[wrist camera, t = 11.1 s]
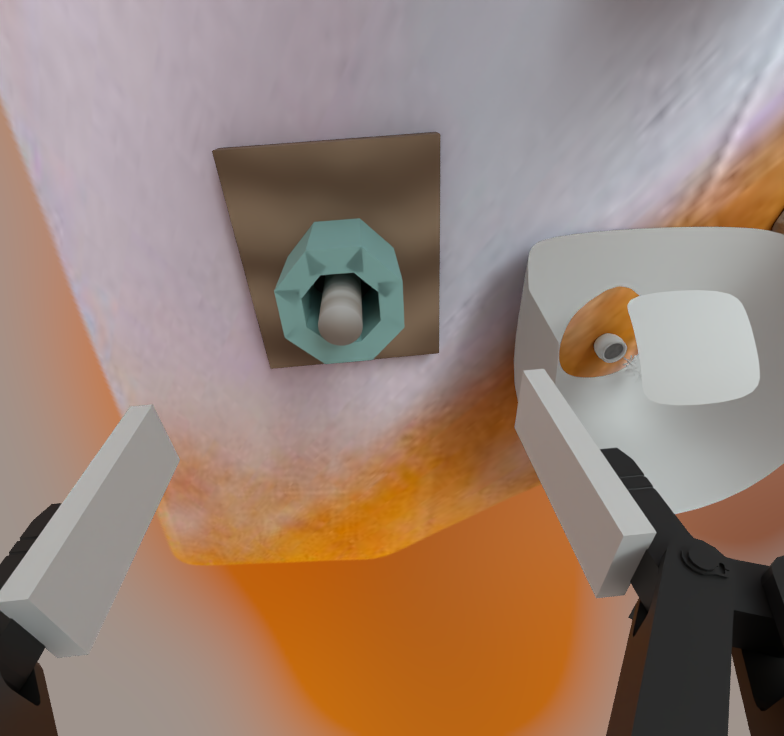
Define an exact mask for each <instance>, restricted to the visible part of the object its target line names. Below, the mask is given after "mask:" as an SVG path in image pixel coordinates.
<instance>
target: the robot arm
mask: <svg viewBox="0 0 784 736" xmlns="http://www.w3.org/2000/svg"><path fill="white" fill-rule="evenodd" d="M515 430H516V432H517V434H518V436H519V438H520V440H521V442H522V444H523V446H524V448H525V451H526V453H527V455H528V457H529V459H530V461H531V463H532V465H533V467H534V469H535V471H536V473H537V476H538V478H539V480H540V482H541V484H542V486H543V488H544V490H545V492H546V494H547V496H548V499H549V501H550V503H551V505H552V507H553V509H554V511H555V513H556V515H557V517H558V519H559V521H560V524H561V526H562V528H563V530H564V532H565V534H566V536H567V538H568V540H569V542H570V544H571V546H572V549H573V550H574V553H575V555H576V557H577V558H578V561H579V563H580V565H581V567H582V569H583V572H584V574H585V576H586V578H587V580H588V582H589V584H590V586H591V588H592V590H593V592H594V594H595V596H596V598H603V597H610V596H611V597H612V596H620V595H625V593H626V591H627V589H628V587H629V586H630V584H632V586H633V588H634V589H635V591H636V593H637V594H638V596H639V599H638V601H637V603H636V605H635V606H634V608H633V610H632V612H631V614H630V615H629V618H631V619H632V625H631V629H630V634H629V638H628V642H627V646H626V651H625V655H624V660H623V664H622V668H621V673H620V677H619V681H618V686H617V690H616V695H615V699H614V703H613V708H612V712H611V717H610V721H609V725H608V730H607V734H606V736H728V718H729V696H730V675H731V654H732V657H733V662H734V666H735V670H736V674H737V679H738V683H739V687H740V691H741V695H742V700H743V704H744V708H745V713H746V717H747V721H748V726H749V730H750V734H751V736H784V556H781V557H777V558H776V559H775V560H774V562H773V563H772V564H771V565H770V566H766V565H761V564H755V563H750V562H745V561H739V560H734V559H731V558H727V557H725V556H724V555H723V554H721V553H720V552H719V551H718V550H717V549H716V548H715V547H713V546H711V545H709V544H707V543H706V542H704V541H702V540H698V539H695V538H693V537H692V536H691V535H690V533H689V532H688V531H687V530H686V529H685V527H684V526H683V525H682V523H681V522H680V521H679V519H678V518H677V517H676V516H675V514H674V513H673V511H672V510H671V509H670V507H669V506H668V505H667V503H666V502H665V501H664V500H663V498H662V497H661V496H660V494H659V493H658V492H657V490H656V489H654V488H653V485H652V484H651V482H650V481H649V480H648V478H647V477H645V476H644V473H643V472H642V471H641V469H640V468H639V467H638V465H637V464H636V463H635V461H634V460H633V459H632V458H630V457H629V456H628V455H626V454H625V453H624V452H622V451H621V450H620V449H618V448H606V449H599V448H598V446H597V445H596V443H595V442H594V441H593V439H592V438H591V436H590V435H589V433H588V432H587V430H586V429H585V428H584V426H583V425H582V423H581V422H580V420H579V419H578V417H577V416H576V414H575V413H574V412H573V410H572V409H571V407H570V406H569V404H568V403H567V401H566V400H565V398H564V397H563V396H562V394H561V393H560V391H559V390H558V388H557V387H556V385H555V384H554V382H553V381H552V380H551V378H550V377H549V375H548V374H547V372H546V371H545V369H535V370H524V371H523V374H522V381H521V388H520V394H519V401H518V408H517V414H516V421H515ZM179 461H180V459H179V457H178V455H177V453H176V451H175V449H174V447H173V445H172V443H171V441H170V439H169V437H168V435H167V432H166V430H165V428H164V426H163V424H162V422H161V420H160V418H159V416H158V414H157V412H156V410H155V408H154V406H153V405H142V406H131V407H130V408H129V409H128V411H127V412H126V413H125V415H124V416H123V418H122V419H121V420H120V422H119V423H118V425H117V426H116V428H115V429H114V431H113V432H112V433H111V435H110V436H109V437H108V439H107V440H106V442H105V443H104V445H103V446H102V447H101V449H100V450H99V452H98V453H97V455H96V456H95V457H94V459H93V460H92V461H91V463H90V464H89V466H88V467H87V469H86V470H85V472H84V473H83V474H82V476H81V477H80V479H79V480H78V481H77V483H76V484H75V486H74V487H73V488H72V490H71V491H70V493H69V494H68V495H67V497H66V499H65V500H64V501H63V503H59V504H51V505H50V506H49V507H48V508H47V509H46V510H45V511H43V512H42V513H41V514H40V515H39V516H37V517H36V518H35V519H34V520H33V521H32V522H31V524H30V525H29V526H28V528H27V529H26V531H25V532H24V533H23V534H22V536H21V537H20V541H17V542H16V544H15V545H14V547H13V548H12V549H11V551H10V552H9V556H6V557H5V559H4V560H3V561H2V563H1V564H0V736H58V734H57V729H56V725H55V720H54V716H53V712H52V707H51V703H50V699H49V694H48V690H47V685H46V681H45V676H44V673H43V669H42V667H41V666H40V664H39V663H38V662H37V661H38V660H39V658H40V656H41V654H42V652H43V651H44V648H46V649H47V650H48V651H50V652H51V653H52V654H53V655H54V656H56V657H57V658H62V657H71V656H80V655H88V654H89V652H90V650H91V648H92V645H93V644H94V641H95V640H96V637H97V635H98V633H99V631H100V629H101V627H102V624H103V622H104V620H105V618H106V616H107V614H108V612H109V610H110V607H111V605H112V603H113V601H114V599H115V597H116V595H117V593H118V591H119V588H120V586H121V584H122V582H123V580H124V578H125V576H126V573H127V571H128V569H129V567H130V565H131V563H132V561H133V559H134V557H135V554H136V552H137V550H138V548H139V546H140V544H141V542H142V540H143V537H144V535H145V533H146V531H147V529H148V527H149V524H150V522H151V520H152V518H153V516H154V514H155V512H156V510H157V508H158V506H159V503H160V501H161V499H162V497H163V495H164V493H165V491H166V488H167V486H168V484H169V482H170V480H171V478H172V476H173V474H174V471H175V469H176V467H177V465H178V463H179Z"/></svg>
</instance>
